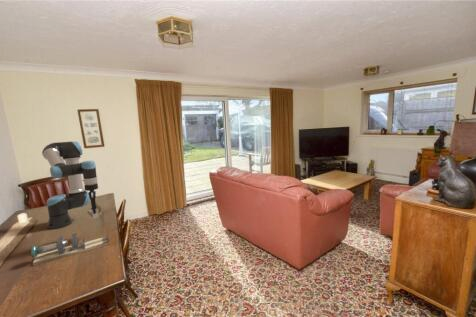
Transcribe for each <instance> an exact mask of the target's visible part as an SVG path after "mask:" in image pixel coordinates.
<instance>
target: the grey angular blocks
mask: <svg viewBox="0 0 476 317" xmlns="http://www.w3.org/2000/svg"><path fill="white" fill-rule="evenodd" d="M105 233H106V236H107V240H108V242H109V243H110V239H109V233H108V231H106V232H105ZM63 241H65V238H64V236H59V237H58V238H57V241H56V243H57V246H58V248H57V249H58V252H59V255H60V254H64V253H65V247H66V246H63ZM70 241H71V246H72V249H73V251H75V250H78V244H79V240H78V233H72V234H71V237H70ZM85 242H86V239H85V237H82V243H83V249H85Z"/></svg>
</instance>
